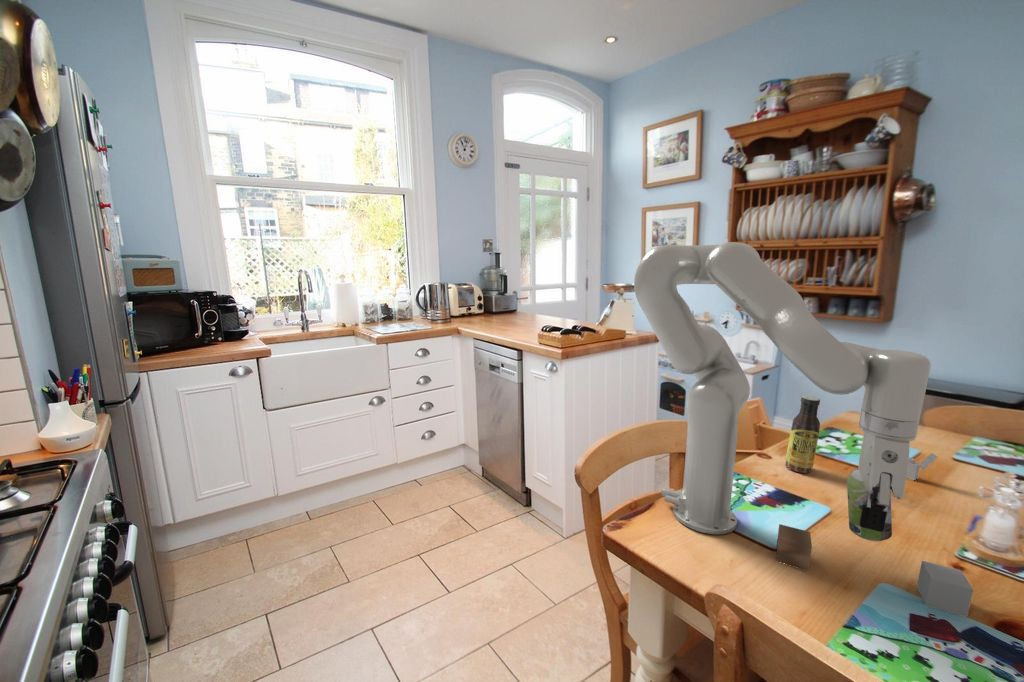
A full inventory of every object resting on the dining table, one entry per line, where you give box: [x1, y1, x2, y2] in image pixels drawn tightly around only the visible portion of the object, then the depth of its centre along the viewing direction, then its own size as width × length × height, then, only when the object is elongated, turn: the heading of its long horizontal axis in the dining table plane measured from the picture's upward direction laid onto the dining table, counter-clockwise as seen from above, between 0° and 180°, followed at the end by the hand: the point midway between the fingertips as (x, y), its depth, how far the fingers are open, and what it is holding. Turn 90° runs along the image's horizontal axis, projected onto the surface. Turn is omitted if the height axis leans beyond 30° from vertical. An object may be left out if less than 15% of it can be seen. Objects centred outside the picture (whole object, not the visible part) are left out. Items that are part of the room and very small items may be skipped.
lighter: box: [906, 452, 939, 481], centre depth 114 cm, size 7×2×8 cm, turn 33°
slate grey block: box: [916, 560, 974, 618], centre depth 74 cm, size 5×5×5 cm
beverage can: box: [846, 468, 893, 542], centre depth 80 cm, size 6×7×12 cm
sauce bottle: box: [785, 395, 821, 474], centre depth 118 cm, size 7×6×20 cm
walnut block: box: [775, 523, 813, 572], centre depth 84 cm, size 5×5×5 cm
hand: (868, 521), depth 79 cm, fingers closed on beverage can, 3 cm apart
